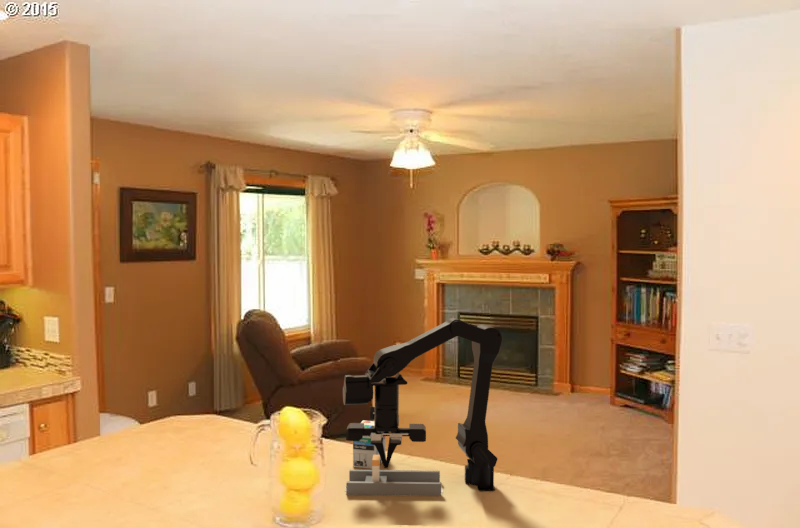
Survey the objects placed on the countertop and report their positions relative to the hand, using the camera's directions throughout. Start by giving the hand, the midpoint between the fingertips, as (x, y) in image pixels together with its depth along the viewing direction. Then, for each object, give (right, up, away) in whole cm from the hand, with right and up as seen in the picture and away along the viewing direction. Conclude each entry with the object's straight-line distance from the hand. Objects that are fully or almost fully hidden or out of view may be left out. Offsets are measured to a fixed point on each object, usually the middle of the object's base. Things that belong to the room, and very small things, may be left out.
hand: (386, 467), depth 161 cm
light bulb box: (-5, -6, +19) cm, 21 cm away
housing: (+2, -6, 0) cm, 6 cm away
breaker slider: (-2, -5, 0) cm, 5 cm away
